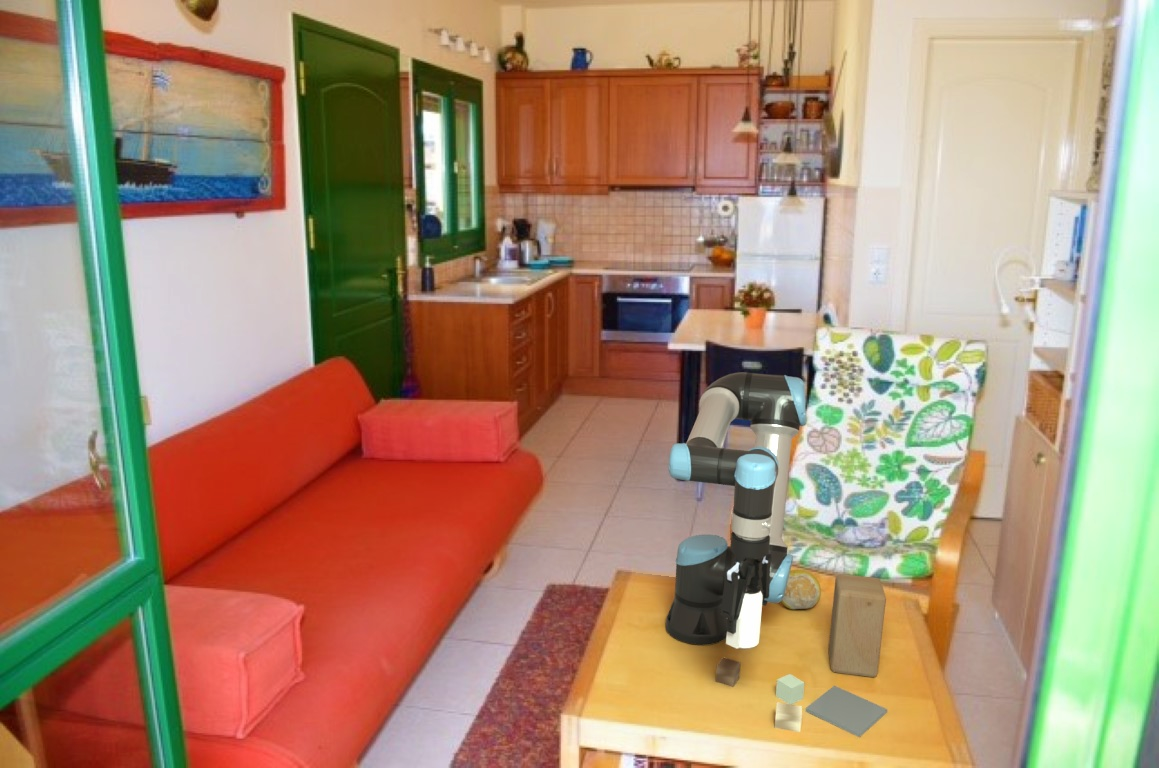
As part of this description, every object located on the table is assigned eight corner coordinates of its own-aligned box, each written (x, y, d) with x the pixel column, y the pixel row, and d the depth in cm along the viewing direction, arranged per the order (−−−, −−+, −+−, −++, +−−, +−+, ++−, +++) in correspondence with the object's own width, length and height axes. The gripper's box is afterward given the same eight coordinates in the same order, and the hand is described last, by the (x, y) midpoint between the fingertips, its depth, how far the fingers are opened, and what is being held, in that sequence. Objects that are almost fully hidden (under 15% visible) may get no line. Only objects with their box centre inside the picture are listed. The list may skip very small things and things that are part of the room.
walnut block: (715, 682, 192) (716, 665, 191) (721, 673, 195) (723, 657, 194) (733, 687, 190) (734, 670, 189) (739, 678, 193) (740, 662, 192)
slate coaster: (805, 711, 182) (805, 707, 182) (834, 688, 190) (834, 685, 190) (859, 737, 174) (859, 733, 173) (886, 712, 182) (887, 709, 182)
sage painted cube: (775, 696, 187) (777, 679, 186) (788, 690, 189) (789, 673, 188) (790, 705, 184) (791, 688, 183) (802, 699, 186) (804, 682, 185)
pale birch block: (774, 728, 176) (776, 710, 175) (775, 719, 179) (776, 702, 178) (800, 732, 175) (801, 714, 174) (800, 723, 178) (802, 706, 177)
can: (738, 652, 174) (742, 597, 171) (720, 636, 180) (724, 582, 177) (765, 646, 177) (769, 591, 174) (747, 630, 182) (751, 577, 179)
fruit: (770, 599, 230) (773, 564, 228) (809, 598, 232) (813, 563, 229) (783, 618, 220) (786, 581, 218) (824, 617, 222) (828, 580, 219)
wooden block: (877, 679, 194) (887, 596, 190) (830, 673, 196) (839, 591, 192) (872, 656, 204) (881, 576, 199) (827, 650, 206) (835, 571, 201)
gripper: (738, 553, 163) (730, 664, 169) (793, 525, 177) (784, 629, 182) (705, 541, 168) (699, 649, 174) (761, 515, 182) (753, 616, 187)
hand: (742, 639), depth 178 cm, fingers closed on can, 6 cm apart
